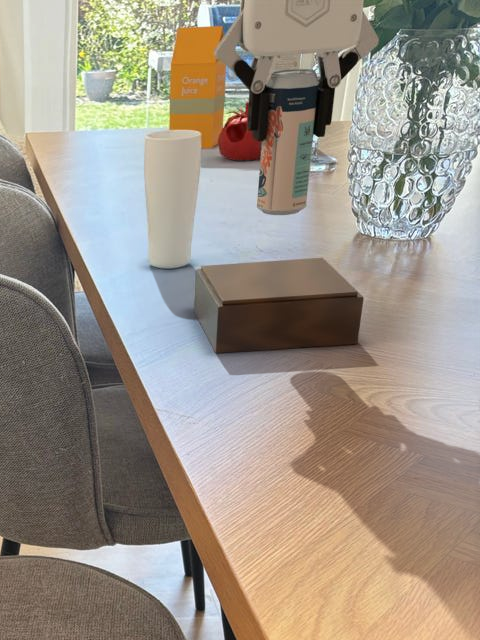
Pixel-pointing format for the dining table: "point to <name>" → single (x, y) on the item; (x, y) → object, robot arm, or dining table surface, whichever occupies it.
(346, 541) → the dining table surface
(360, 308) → the walnut block
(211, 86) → the orange juice
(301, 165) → the beer can
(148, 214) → the drinking glass
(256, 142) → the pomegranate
